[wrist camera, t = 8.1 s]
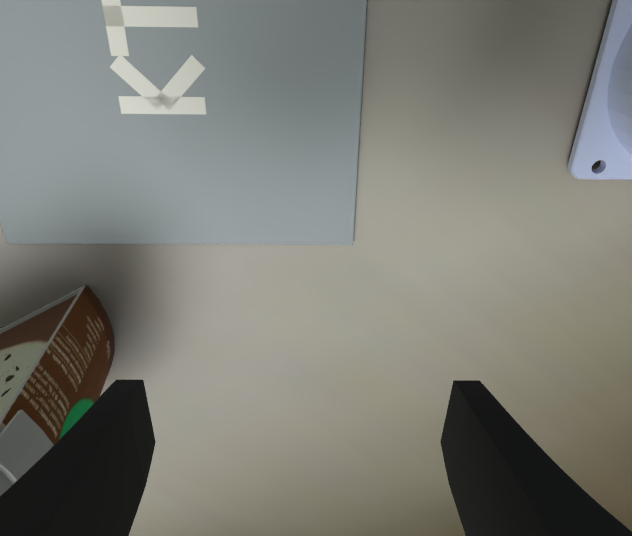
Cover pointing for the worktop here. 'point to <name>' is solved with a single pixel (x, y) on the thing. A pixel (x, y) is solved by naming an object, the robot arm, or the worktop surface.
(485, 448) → the robot arm
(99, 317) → the food container
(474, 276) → the worktop surface
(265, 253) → the worktop surface
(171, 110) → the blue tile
